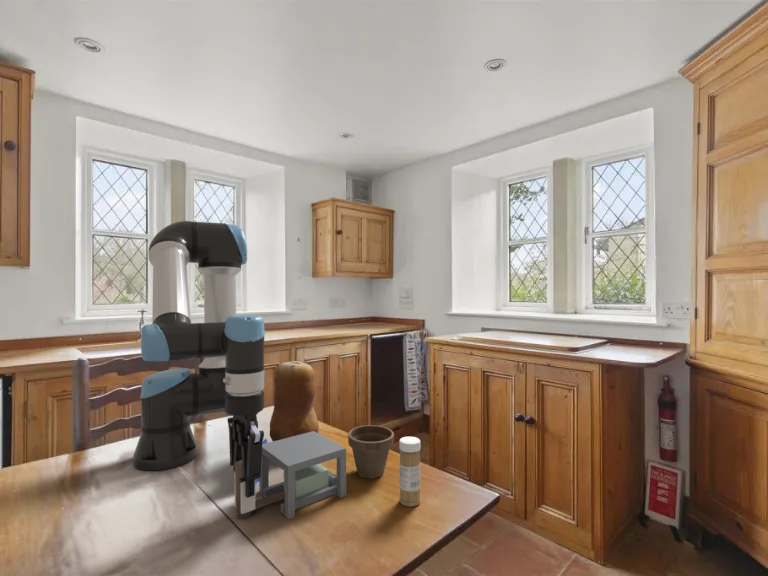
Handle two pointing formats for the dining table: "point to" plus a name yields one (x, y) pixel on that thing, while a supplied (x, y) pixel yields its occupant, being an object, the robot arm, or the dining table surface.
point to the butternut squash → (293, 401)
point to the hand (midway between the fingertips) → (244, 507)
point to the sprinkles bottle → (409, 471)
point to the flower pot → (370, 449)
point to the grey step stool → (299, 456)
